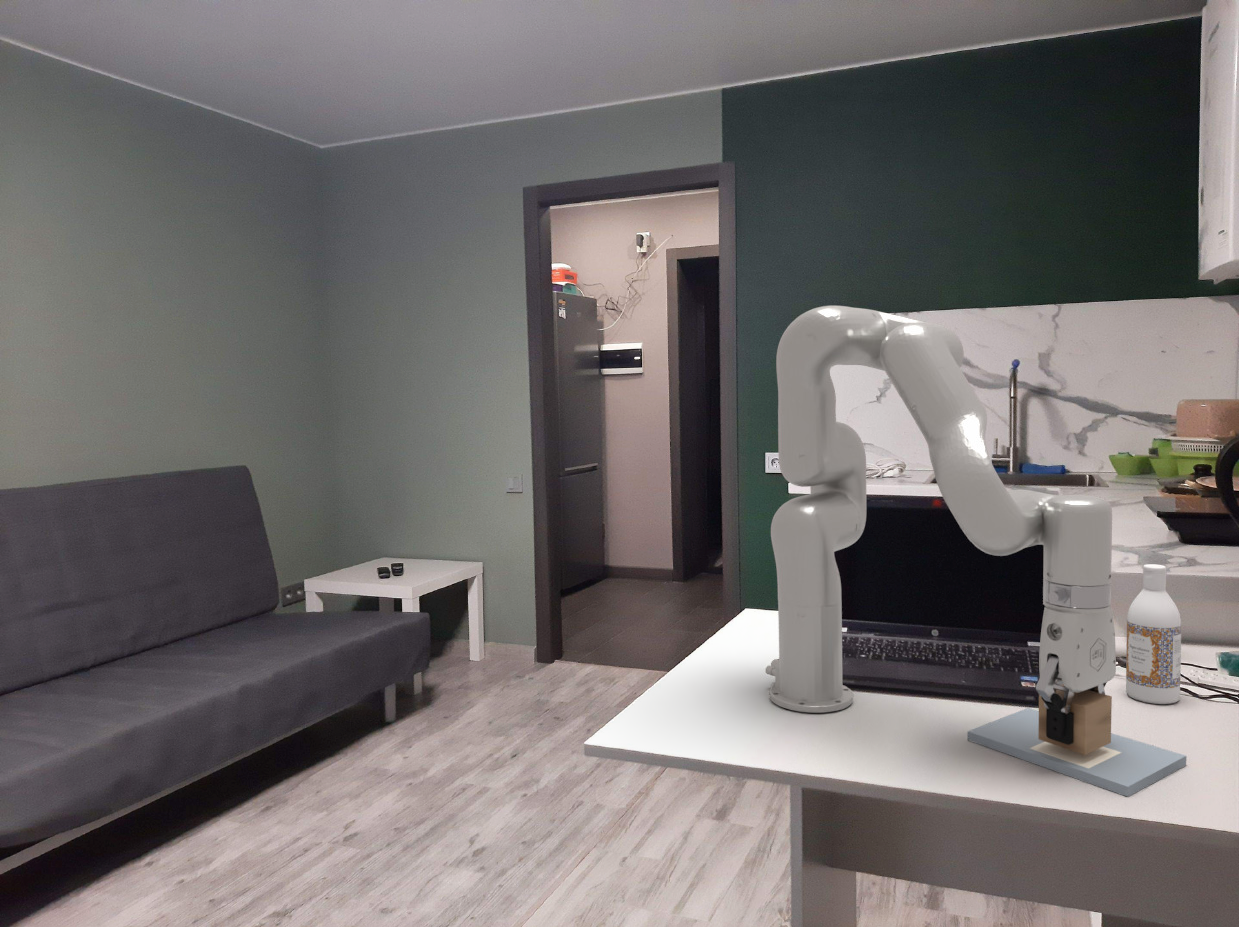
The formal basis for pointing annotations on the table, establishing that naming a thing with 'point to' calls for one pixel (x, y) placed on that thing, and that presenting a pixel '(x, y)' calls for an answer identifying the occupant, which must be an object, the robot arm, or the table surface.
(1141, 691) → the bath foam
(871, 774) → the table surface
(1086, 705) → the walnut cube
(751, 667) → the table surface
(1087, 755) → the build board
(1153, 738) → the table surface
